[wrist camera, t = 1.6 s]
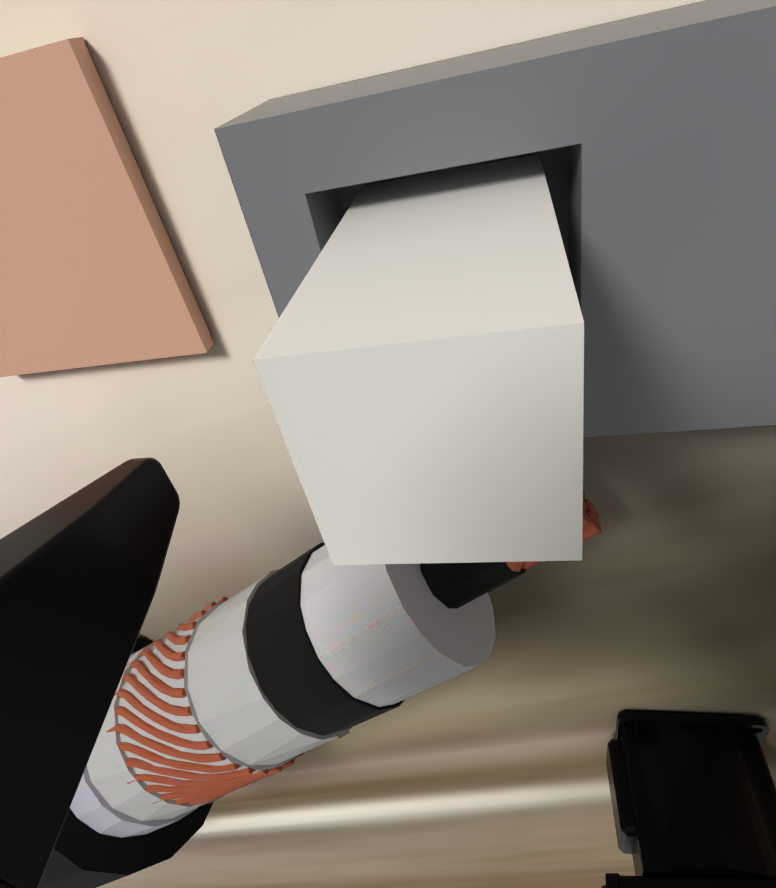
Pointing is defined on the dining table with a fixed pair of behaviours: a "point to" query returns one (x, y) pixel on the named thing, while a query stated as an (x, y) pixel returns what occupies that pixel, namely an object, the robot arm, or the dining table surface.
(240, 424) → the dining table surface
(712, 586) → the dining table surface
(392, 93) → the grey hollow box
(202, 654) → the cable
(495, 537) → the white block
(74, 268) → the coaster
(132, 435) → the dining table surface
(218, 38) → the dining table surface
